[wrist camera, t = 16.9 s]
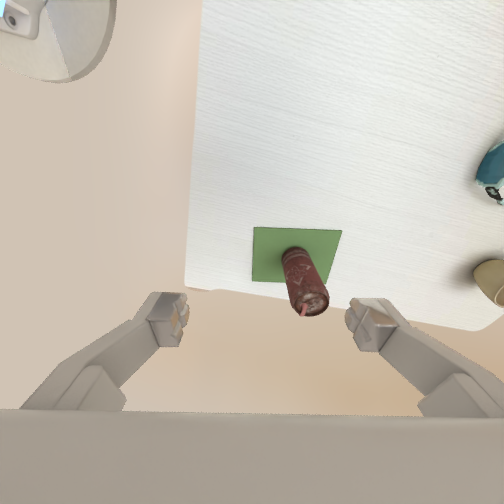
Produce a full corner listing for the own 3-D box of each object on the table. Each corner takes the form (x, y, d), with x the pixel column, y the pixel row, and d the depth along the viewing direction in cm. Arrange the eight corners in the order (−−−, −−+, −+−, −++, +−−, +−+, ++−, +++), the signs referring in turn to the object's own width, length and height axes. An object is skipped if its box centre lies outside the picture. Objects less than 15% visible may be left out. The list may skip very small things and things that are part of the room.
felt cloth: (252, 280, 44) (252, 281, 43) (254, 226, 37) (254, 227, 36) (325, 283, 44) (325, 284, 43) (341, 230, 37) (342, 231, 36)
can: (277, 266, 41) (285, 315, 29) (286, 243, 38) (300, 286, 26) (302, 272, 42) (320, 322, 29) (312, 249, 38) (338, 294, 26)
